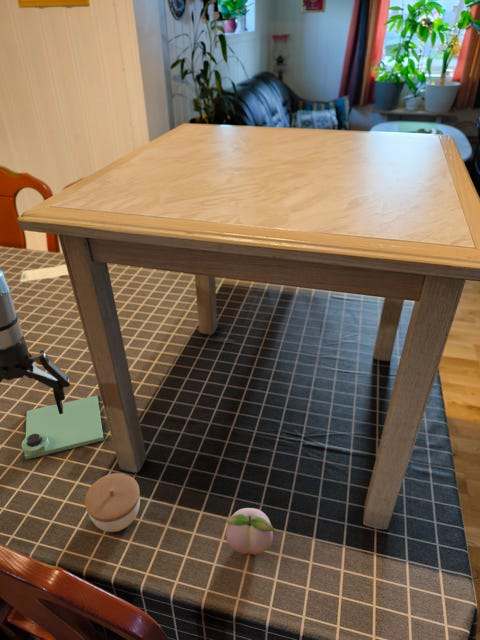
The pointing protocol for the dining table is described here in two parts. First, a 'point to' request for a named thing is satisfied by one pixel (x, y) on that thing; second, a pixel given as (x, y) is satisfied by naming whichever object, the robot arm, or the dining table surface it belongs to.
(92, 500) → the trinket box
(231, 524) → the decorative fruit
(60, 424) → the scale
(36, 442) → the button
